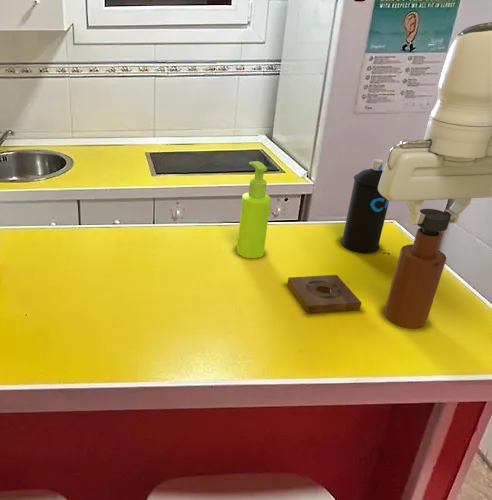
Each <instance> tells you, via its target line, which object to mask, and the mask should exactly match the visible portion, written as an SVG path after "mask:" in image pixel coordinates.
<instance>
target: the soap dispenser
mask: <svg viewBox="0 0 492 500" xmlns="http://www.w3.org/2000/svg"><path fill="white" fill-rule="evenodd" d="M248 165H251V166H252V167H253V168H254V169H255V171H254V178H251V179H250V180H249V187H248V192H245V193H243V194H242V196H241V197H242V198H241V204H240V205H241V206H240V215H239V223H238V224H239V225H238V233H237V243H236V253H237V254H238V256H241V257H243V258H247V259H259V258H261V257H263V256H264V254H265V247H266V246H265V245H266V238H267V230H268V223H269V216H270V210H271V209H270V208H271V202H272V201H271V200H272V197H271V196H270V195H269V194H267V193H266V191H267V184H268V183H267V180H265V179H264V175H265V174H264V173H265V172H267V171H268V167H267V166H266V165H265V164H264V163H263V162H261V161H258V160H257V161H248Z"/></svg>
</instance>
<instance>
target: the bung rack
mask: <svg viewBox="0 0 492 500" xmlns="http://www.w3.org/2000/svg"><path fill="white" fill-rule="evenodd" d="M286 286H287V287H288V289H289V290H290V292H291V293H292V294H293V296H294V297H295V298H296V300H297V301H298V303H299V304H300V306H301V307H302V309H303V310H304V311H305V313H306V314H307V315H312V314H326V313H341V312H342V313H343V312H357V311H360V310H361V306H362V301H361V300H360V299H359V297H357V296H356V294H355V293H354V292H353V291H352V290H351V289H350V288H349V287H348V286H347V284H346V283H345V282H344V281H343V280H342V279H341V277H340V276H339V275H338V274H328V275H327V274H325V275H310V276H309V275H308V276H293V277H292V276H291V277H288V278H287V284H286Z"/></svg>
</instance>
